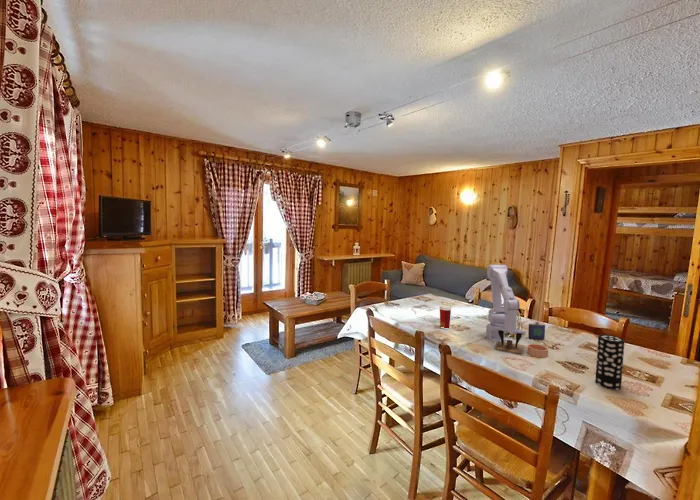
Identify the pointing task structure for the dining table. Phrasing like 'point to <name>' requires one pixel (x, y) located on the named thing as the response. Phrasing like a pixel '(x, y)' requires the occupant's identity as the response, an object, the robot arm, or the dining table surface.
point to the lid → (509, 347)
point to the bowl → (537, 350)
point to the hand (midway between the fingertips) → (509, 345)
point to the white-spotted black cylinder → (609, 361)
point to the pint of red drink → (445, 316)
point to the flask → (536, 331)
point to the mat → (509, 352)
